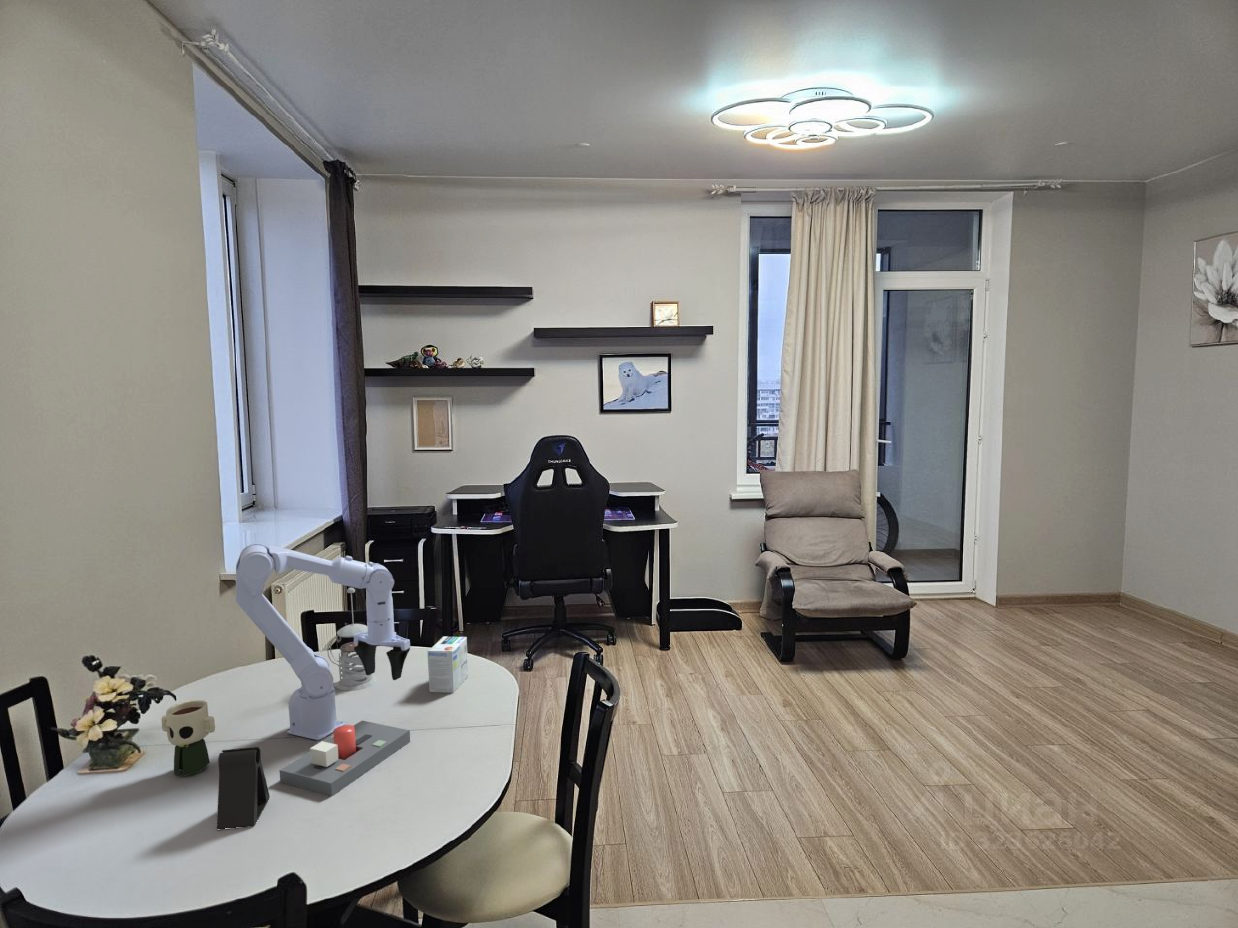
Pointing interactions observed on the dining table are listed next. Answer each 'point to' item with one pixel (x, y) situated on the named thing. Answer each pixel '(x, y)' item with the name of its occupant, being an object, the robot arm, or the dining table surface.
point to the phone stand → (241, 788)
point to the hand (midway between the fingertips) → (383, 676)
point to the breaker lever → (324, 753)
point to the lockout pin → (345, 741)
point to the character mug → (189, 735)
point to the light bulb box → (447, 664)
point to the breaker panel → (347, 760)
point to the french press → (351, 658)
